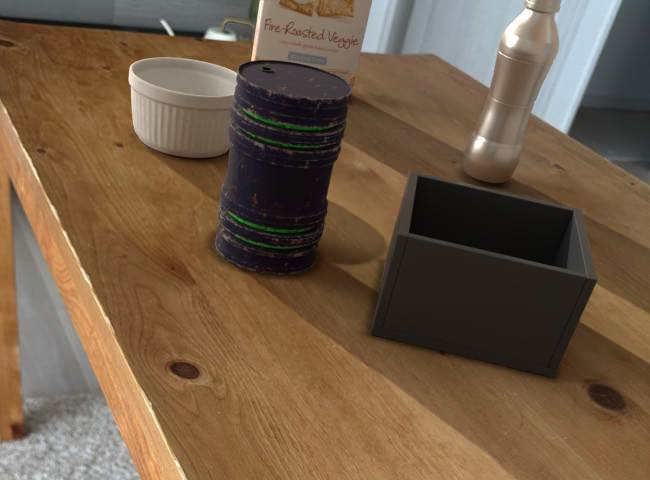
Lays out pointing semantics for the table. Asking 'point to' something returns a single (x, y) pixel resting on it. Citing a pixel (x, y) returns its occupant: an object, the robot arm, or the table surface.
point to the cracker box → (313, 33)
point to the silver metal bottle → (513, 92)
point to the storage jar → (280, 164)
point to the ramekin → (182, 105)
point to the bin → (485, 275)
